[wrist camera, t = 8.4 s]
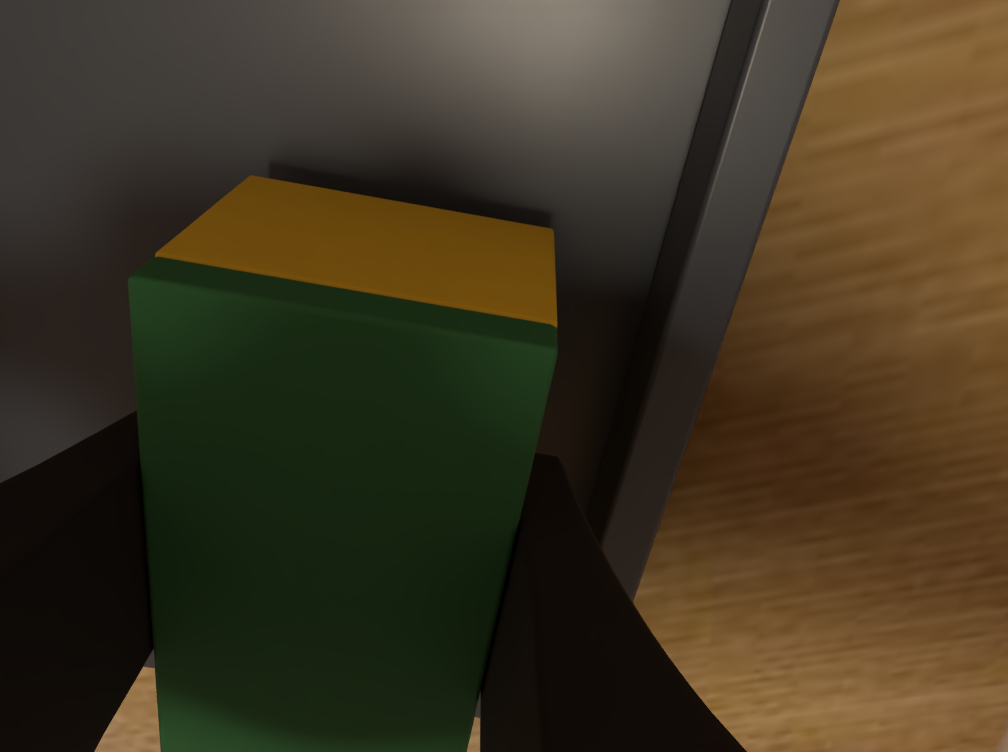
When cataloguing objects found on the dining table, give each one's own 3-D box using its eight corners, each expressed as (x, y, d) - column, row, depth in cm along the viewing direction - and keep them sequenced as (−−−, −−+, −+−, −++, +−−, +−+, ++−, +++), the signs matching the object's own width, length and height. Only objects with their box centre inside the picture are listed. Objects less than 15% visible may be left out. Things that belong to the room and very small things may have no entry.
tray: (997, -683, 7) (1149, -891, 5) (583, 643, 16) (588, 736, 14) (-419, -1015, 7) (-781, -1372, 5) (-56, 543, 15) (-138, 626, 13)
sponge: (475, 609, 14) (455, 801, 11) (244, 573, 14) (158, 759, 11) (555, 227, 10) (559, 350, 7) (249, 173, 10) (123, 276, 7)
